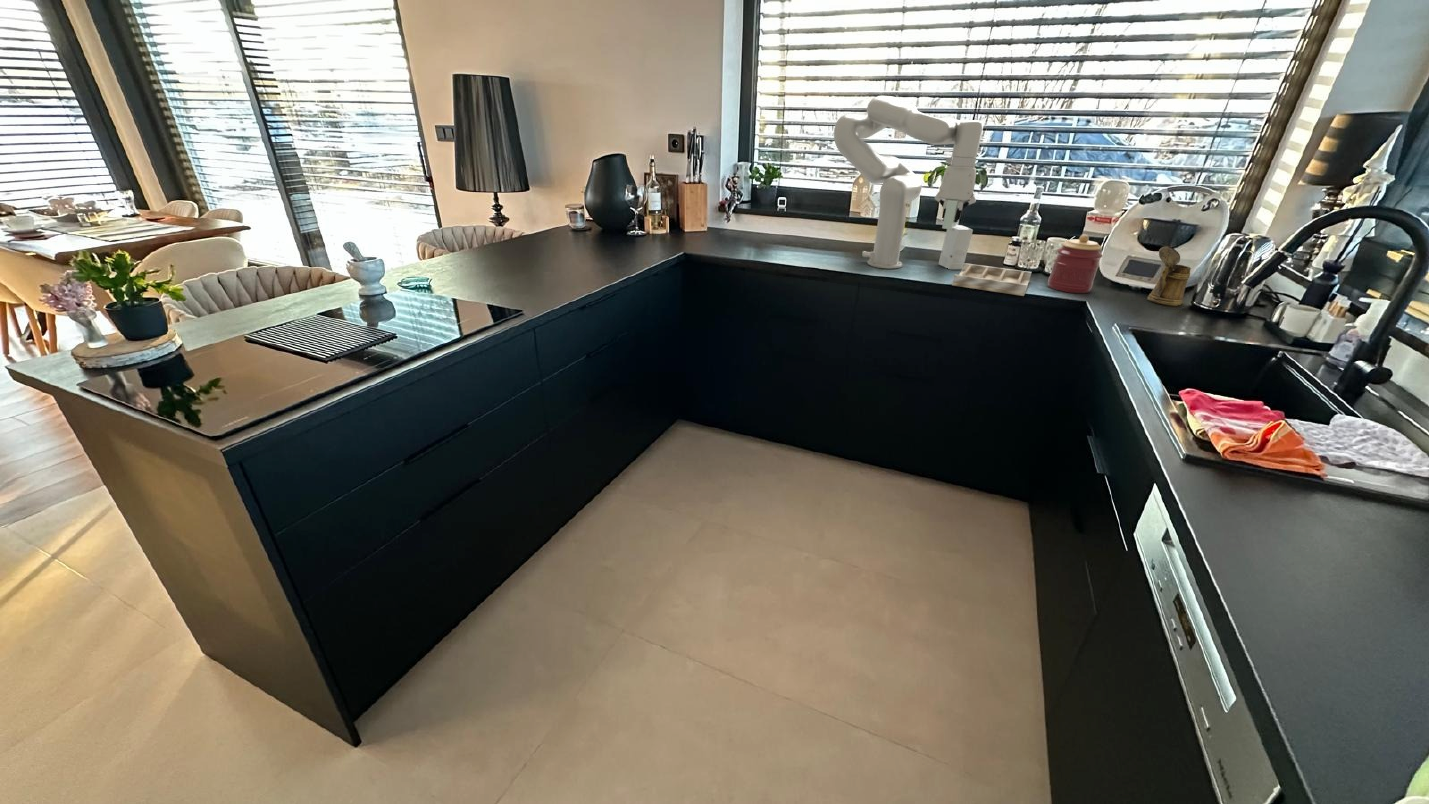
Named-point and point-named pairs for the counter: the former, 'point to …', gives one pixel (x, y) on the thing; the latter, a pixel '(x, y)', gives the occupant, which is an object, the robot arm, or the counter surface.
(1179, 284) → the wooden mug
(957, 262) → the skincare box
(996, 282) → the divided tray
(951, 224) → the grey-green flat block
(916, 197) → the robot arm
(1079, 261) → the canister
